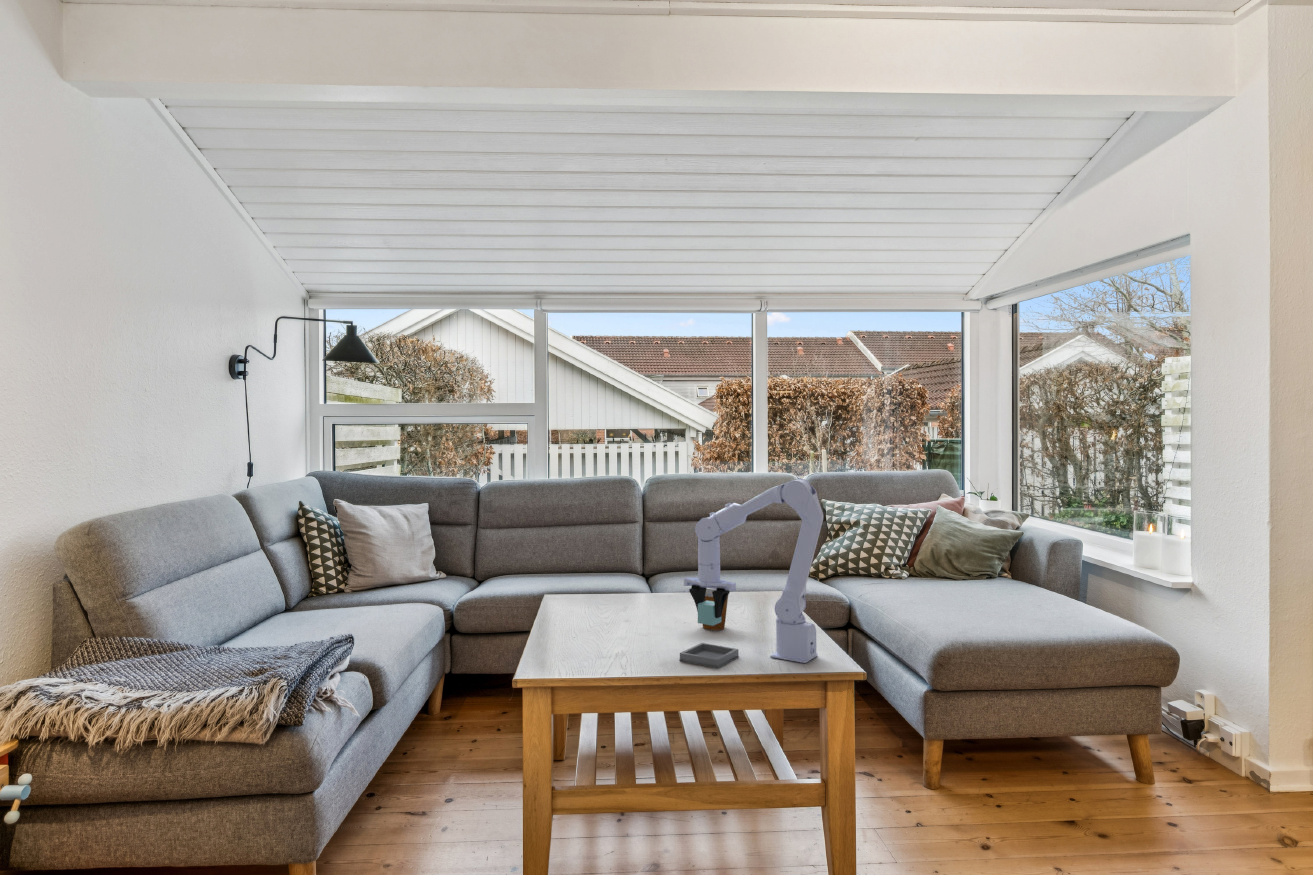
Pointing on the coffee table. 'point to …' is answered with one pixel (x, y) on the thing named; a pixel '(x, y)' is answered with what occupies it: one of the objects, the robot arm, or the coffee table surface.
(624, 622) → the coffee table surface
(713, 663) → the tray
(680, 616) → the coffee table surface
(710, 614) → the teal block
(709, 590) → the disposable coffee cup
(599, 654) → the coffee table surface
